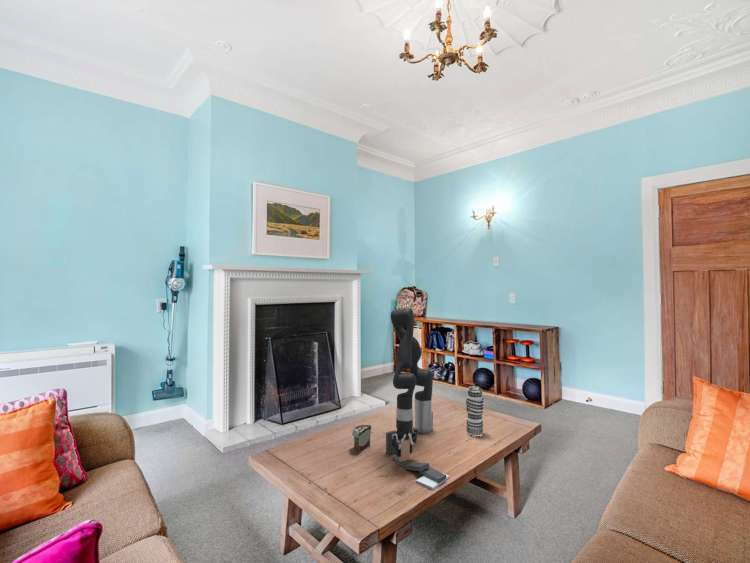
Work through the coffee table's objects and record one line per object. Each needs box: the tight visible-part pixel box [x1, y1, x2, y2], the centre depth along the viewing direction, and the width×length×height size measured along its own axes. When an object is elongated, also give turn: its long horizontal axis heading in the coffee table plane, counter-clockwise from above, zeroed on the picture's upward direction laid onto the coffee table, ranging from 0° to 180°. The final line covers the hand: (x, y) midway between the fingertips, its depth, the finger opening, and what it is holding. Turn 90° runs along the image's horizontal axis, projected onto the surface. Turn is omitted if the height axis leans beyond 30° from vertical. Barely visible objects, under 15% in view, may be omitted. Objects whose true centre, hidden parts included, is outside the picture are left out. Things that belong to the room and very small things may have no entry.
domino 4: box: [405, 461, 431, 472], centre depth 158 cm, size 5×2×10 cm
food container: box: [351, 424, 372, 454], centre depth 180 cm, size 12×6×10 cm, turn 149°
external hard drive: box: [415, 472, 450, 491], centre depth 151 cm, size 2×8×12 cm
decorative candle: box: [465, 385, 485, 437], centre depth 199 cm, size 9×9×25 cm
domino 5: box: [419, 466, 447, 483], centre depth 152 cm, size 5×2×10 cm
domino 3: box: [391, 455, 413, 470], centre depth 166 cm, size 5×2×10 cm
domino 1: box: [385, 430, 397, 456], centre depth 175 cm, size 5×2×10 cm, turn 124°
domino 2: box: [399, 439, 411, 462], centre depth 167 cm, size 5×2×10 cm, turn 124°
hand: (404, 454), depth 167 cm, fingers open, 6 cm apart
